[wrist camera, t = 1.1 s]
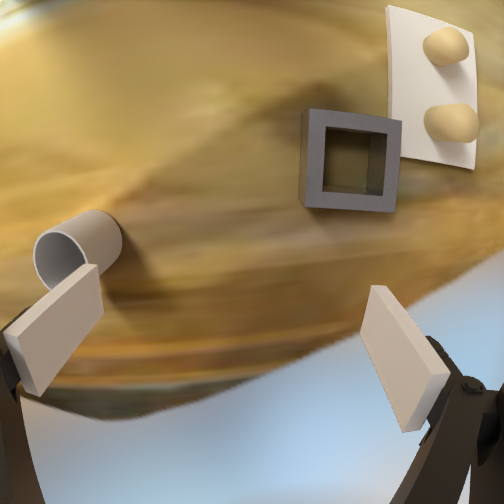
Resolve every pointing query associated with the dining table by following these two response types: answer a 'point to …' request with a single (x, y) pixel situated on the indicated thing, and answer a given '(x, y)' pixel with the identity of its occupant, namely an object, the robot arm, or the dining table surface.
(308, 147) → the collar
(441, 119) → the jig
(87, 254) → the cup
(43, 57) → the dining table surface
